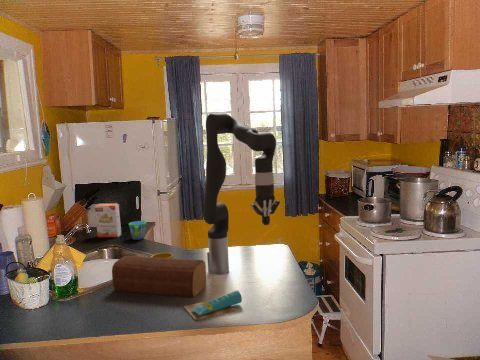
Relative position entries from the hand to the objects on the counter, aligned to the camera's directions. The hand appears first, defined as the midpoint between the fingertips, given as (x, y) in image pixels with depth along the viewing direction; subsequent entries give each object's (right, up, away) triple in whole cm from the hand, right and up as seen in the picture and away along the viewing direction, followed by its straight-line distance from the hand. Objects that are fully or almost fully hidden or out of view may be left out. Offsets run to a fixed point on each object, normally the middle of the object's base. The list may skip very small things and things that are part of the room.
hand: (266, 224), depth 185 cm
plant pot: (-47, -27, +30) cm, 62 cm away
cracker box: (-95, -18, +108) cm, 145 cm away
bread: (-46, -30, +14) cm, 56 cm away
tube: (-11, -27, -7) cm, 30 cm away
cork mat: (-23, -32, -10) cm, 40 cm away
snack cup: (-74, -19, +99) cm, 125 cm away
